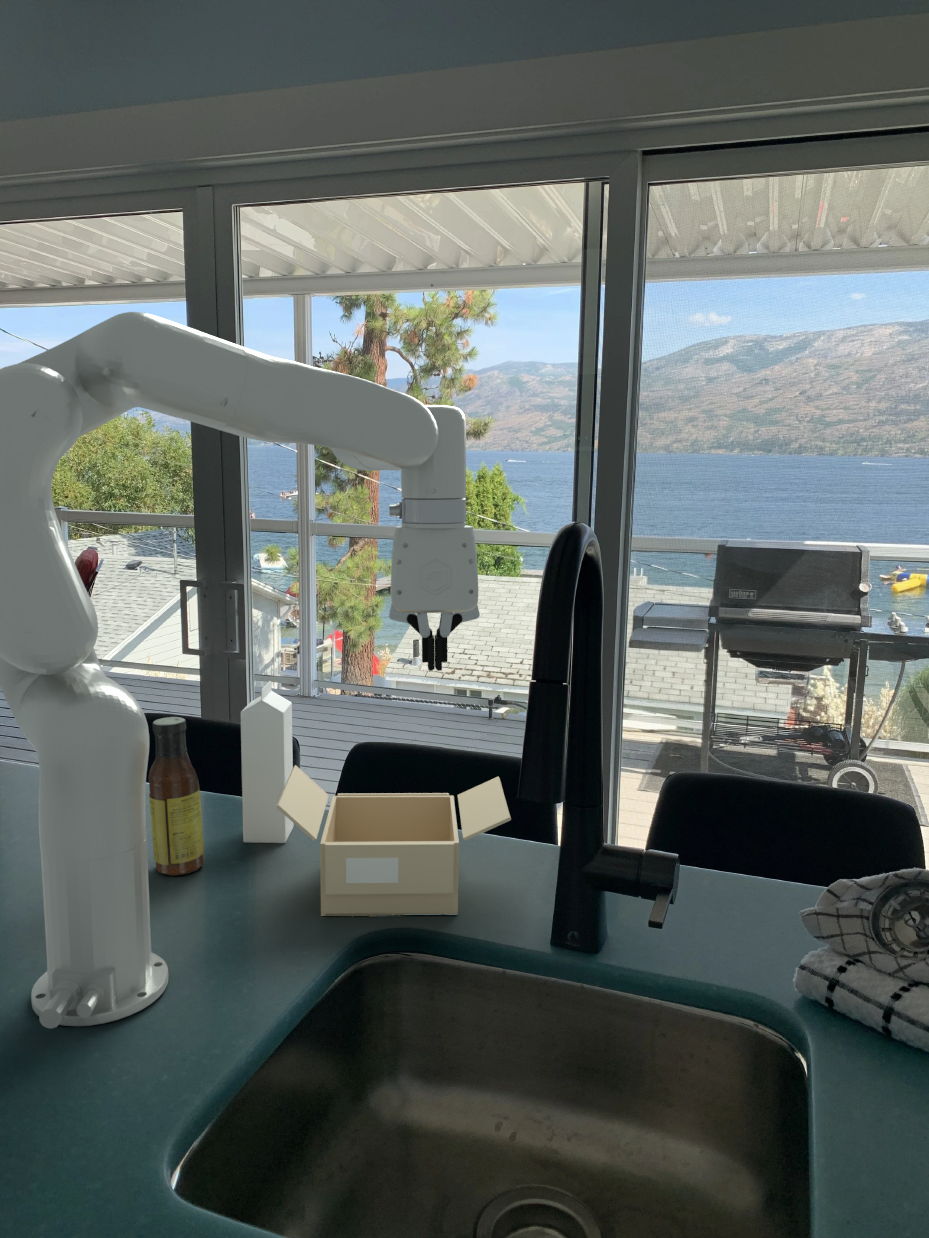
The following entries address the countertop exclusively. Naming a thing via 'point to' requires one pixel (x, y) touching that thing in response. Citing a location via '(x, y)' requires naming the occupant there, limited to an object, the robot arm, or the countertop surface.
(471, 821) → the right flap
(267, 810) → the milk
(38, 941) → the countertop surface
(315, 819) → the left flap
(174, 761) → the sauce bottle
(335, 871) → the carton
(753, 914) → the countertop surface
